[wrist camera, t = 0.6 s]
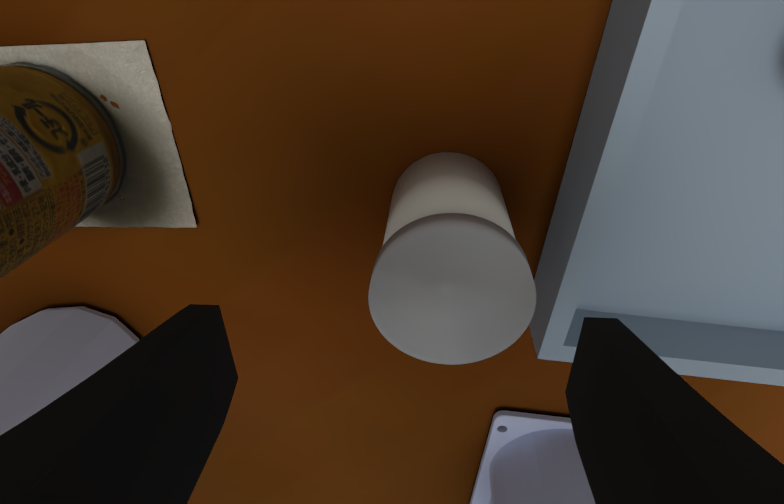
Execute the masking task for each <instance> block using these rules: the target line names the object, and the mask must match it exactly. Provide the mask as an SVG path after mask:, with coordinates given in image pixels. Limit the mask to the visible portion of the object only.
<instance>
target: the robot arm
mask: <svg viewBox="0 0 784 504" xmlns="http://www.w3.org/2000/svg"><path fill="white" fill-rule="evenodd" d="M237 380H238V375H237V372H236V368H235V364H234V360H233V357H232V353H231V349H230V345H229V341H228V338H227V334H226V330H225V326H224V322H223V319H222V315H221V311H220V307H219V305H192V304H190V305H188V306H187V307H185V308H184V309H182V310H181V311H179V312H178V313H176V314H175V315H174V316H172V317H171V318H169V319H168V320H167V321H165V322H164V323H163V324H161V325H160V326H158V327H157V328H156V329H154V330H153V331H152V332H150V333H149V334H148V335H146V336H145V337H143V338H142V339H141V340H139V341H138V342H137V343H135V344H134V345H133V346H131V347H130V348H129V349H127V350H126V351H124V352H123V353H122V354H120V355H119V356H118V357H116V358H115V359H113V360H112V361H111V362H109V363H108V364H106V365H105V366H104V367H102V368H101V369H100V370H98V371H97V372H95V373H94V374H93V375H91V376H90V377H88V378H87V379H85V380H84V381H82V382H81V383H79V384H78V385H76V386H75V387H74V388H72V389H71V390H69V391H68V392H66V393H65V394H63V395H62V396H60V397H59V398H57V399H56V400H54V401H53V402H51V403H50V404H48V405H47V406H45V407H44V408H43V409H41V410H40V411H38V412H37V413H35V414H34V415H32V416H31V417H29V418H27V419H26V420H24V421H23V422H21V423H20V424H18V425H16V426H15V427H13V428H11V429H10V430H8V431H7V432H5V433H3V434H2V435H0V504H187V502H188V500H189V498H190V496H191V494H192V491H193V489H194V487H195V485H196V483H197V481H198V479H199V476H200V474H201V472H202V470H203V468H204V466H205V464H206V462H207V459H208V457H209V455H210V453H211V451H212V448H213V446H214V444H215V442H216V440H217V438H218V435H219V433H220V431H221V429H222V426H223V424H224V421H225V418H226V415H227V412H228V409H229V406H230V403H231V400H232V396H233V393H234V390H235V387H236V383H237ZM566 398H567V403H568V408H569V414H570V418H566V417H558V416H549V415H540V414H532V413H523V412H514V411H506V410H501V411H498V412H496V413H495V414H494V416H493V420H492V423H491V427H490V431H489V434H488V438H487V441H486V445H485V449H484V452H483V456H482V459H481V463H480V467H479V470H478V474H477V478H476V481H475V485H474V488H473V492H472V496H471V499H470V503H469V504H784V465H783V464H782V463H781V462H779V461H778V460H777V459H776V458H774V457H773V456H772V455H771V454H769V453H768V452H767V451H766V450H765V449H763V448H762V447H761V446H760V445H758V444H757V443H756V442H755V441H754V440H752V439H751V438H750V437H749V436H747V435H746V434H745V433H744V432H743V431H741V430H740V429H739V428H738V427H737V426H735V425H734V424H733V423H732V422H731V421H730V420H728V419H727V418H726V417H725V416H724V415H723V414H721V413H720V412H719V411H718V410H717V409H716V408H715V407H713V406H712V405H711V404H710V403H709V402H708V401H707V400H705V399H704V398H703V397H702V396H701V395H700V394H699V393H698V392H697V391H695V390H694V389H693V388H692V387H691V386H690V385H689V384H688V383H687V382H685V381H684V380H683V379H682V378H681V377H680V376H679V375H678V374H677V373H676V372H675V371H674V370H672V369H671V368H670V367H669V366H668V365H667V364H666V363H665V362H664V361H663V360H662V359H661V358H660V357H659V356H657V355H656V354H655V353H654V352H653V351H652V350H651V349H650V348H649V347H648V346H647V345H646V344H645V343H644V342H643V341H642V340H640V339H639V338H638V337H637V336H636V335H635V334H634V333H633V332H632V331H631V330H630V329H629V328H628V327H627V326H625V325H624V324H623V323H622V322H621V321H620V320H619V319H618V318H596V317H584V320H583V324H582V328H581V332H580V336H579V340H578V344H577V348H576V352H575V356H574V360H573V364H572V368H571V372H570V376H569V380H568V384H567V388H566Z"/></svg>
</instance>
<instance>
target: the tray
mask: <svg viewBox="0 0 784 504" xmlns="http://www.w3.org/2000/svg"><path fill="white" fill-rule="evenodd" d="M534 283H535V287H536V306H535V311H534V314H533V317H532V319H531V322H530V323H529V328H530V332H531V336H532V340H533V343H534V347H535V351H536V355H537V359H545V360H554V361H563V362H572V363H573V360H574V356H575V352H576V348H577V344H578V340H579V336H580V332H581V328H582V324H583V320H584V317H596V318H618V319H619V320H620V321H621V322H622V323H623V324H624V325H625V326H627V327H628V328H629V329H630V330H631V331H632V332H633V333H634V334H635V335H636V336H637V337H638V338H639V339H640V340H642V341H643V342H644V343H645V344H646V345H647V346H648V347H649V348H650V349H651V350H652V351H653V352H654V353H655V354H656V355H657V356H659V357H660V358H661V359H662V360H663V361H664V362H665V363H666V364H667V365H668V366H669V367H670V368H671V369H672V370H674V371H675V372H676V373H677V374H680V375H689V376H697V377H706V378H715V379H724V380H733V381H742V382H751V383H760V384H769V385H778V386H784V0H613V1H612V4H611V8H610V11H609V15H608V18H607V22H606V25H605V29H604V33H603V36H602V40H601V43H600V47H599V50H598V54H597V58H596V61H595V65H594V68H593V72H592V75H591V79H590V82H589V86H588V90H587V93H586V97H585V100H584V104H583V107H582V111H581V115H580V118H579V122H578V125H577V129H576V132H575V136H574V139H573V143H572V147H571V150H570V154H569V157H568V161H567V164H566V168H565V172H564V175H563V179H562V182H561V186H560V189H559V193H558V197H557V200H556V204H555V207H554V211H553V214H552V218H551V221H550V225H549V229H548V232H547V236H546V239H545V243H544V246H543V250H542V254H541V257H540V261H539V264H538V268H537V271H536V275H535V278H534Z"/></svg>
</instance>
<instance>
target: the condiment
mask: <svg viewBox="0 0 784 504" xmlns="http://www.w3.org/2000/svg"><path fill="white" fill-rule="evenodd" d="M100 95H104V96H105V97H106V98H107V101H103V100H102V99H101V97H100ZM111 101H113V102H115V103H117V104H118V106H119V109H117V108H115V107H114V106H112V105H111V103H110V102H111ZM120 196H123V197H124V199H122V200H121V198H120ZM75 226H84V227H91V226H96V227H115V228H125V227H170V228H181V227H197V226H196V221H195V218H194V214H193V211H192V202H191V200H190V196H189V192H188V188H187V184H186V181H185V178H184V175H183V169H182V165H181V161H180V158H179V155H178V151H177V148H176V145H175V141H174V138H173V134H172V128H171V123H170V121H169V120H168V117H167V114H166V111H165V108H164V105H163V101H162V98H161V94H160V89H159V85H158V82H157V78H156V76H155V74H154V71H153V68H152V64H151V61H150V58H149V54H148V51H147V47H146V43H145V41H144V40H140V41H121V42H98V43H82V44H54V45H29V46H7V47H0V278H2V277H3V276H4V275H6V274H8V273H9V272H10V271H12V270H14V269H16V268H17V267H18V266H19V265H21V264H22V263H24V262H25V261H26V260H27V259H29V258H30V257H32V256H33V255H35V254H37V253H38V252H39V251H40V250H42V249H43V248H44V247H46V246H47V245H49V244H50V243H52V242H53V241H54V240H56V239H57V238H59V237H60V236H61V235H63V234H65V233H66V232H67V231H69V230H70V229H72V228H73V227H75Z"/></svg>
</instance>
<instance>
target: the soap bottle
mask: <svg viewBox="0 0 784 504" xmlns="http://www.w3.org/2000/svg"><path fill="white" fill-rule="evenodd" d="M138 341H139V338H138V337H137V336H136V335H134V334H133V333H132V332H131V331H130V330H129V329H128V328H127V327H126V326H124V325H123V324H122V323H121V322H120V321H119V320H118V319H117V318H115V317H113V316H110V315H107V314H104V313H101V312H98V311H95V310H93V309H90V308H87V307H84V306H80V307H64V308H49V309H45V310H42V311H39V312H37V313H35V314H33V315H31V316H29V317H27V318H25V319H23V320H21V321H19V322H17V323H15V324H13V325H11V326H10V327H8V328H7V329H6V330H5V331H4V332H2V333H1V334H0V435H2V434H3V433H5V432H7V431H8V430H10V429H11V428H13V427H15V426H16V425H18V424H20V423H21V422H23V421H24V420H26V419H27V418H29V417H31V416H32V415H34V414H35V413H37V412H38V411H40V410H41V409H43V408H44V407H45V406H47V405H48V404H50V403H51V402H53V401H54V400H56V399H57V398H59V397H60V396H62V395H63V394H65V393H66V392H68V391H69V390H71V389H72V388H74V387H75V386H76V385H78V384H79V383H81V382H82V381H84V380H85V379H87V378H88V377H90V376H91V375H93V374H94V373H95V372H97V371H98V370H100V369H101V368H102V367H104V366H105V365H106V364H108V363H109V362H111V361H112V360H113V359H115V358H116V357H118V356H119V355H120V354H122V353H123V352H124V351H126V350H127V349H129V348H130V347H131V346H133V345H134V344H135V343H137V342H138Z"/></svg>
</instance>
